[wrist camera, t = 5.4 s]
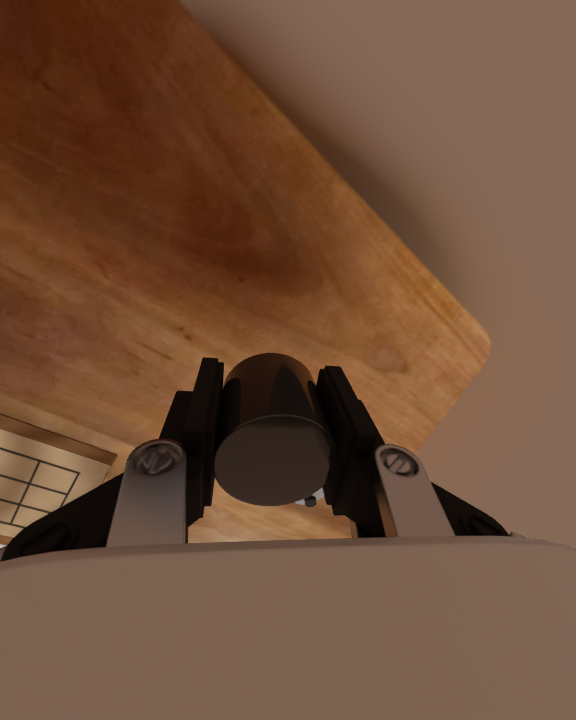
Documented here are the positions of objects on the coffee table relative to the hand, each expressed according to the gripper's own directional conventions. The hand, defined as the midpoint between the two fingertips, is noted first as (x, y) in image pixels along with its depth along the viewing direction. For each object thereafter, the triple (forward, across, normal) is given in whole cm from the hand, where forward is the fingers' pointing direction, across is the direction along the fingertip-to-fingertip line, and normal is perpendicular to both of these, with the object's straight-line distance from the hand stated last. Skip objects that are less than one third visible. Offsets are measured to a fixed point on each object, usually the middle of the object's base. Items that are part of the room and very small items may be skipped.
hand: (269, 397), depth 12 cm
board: (+15, +23, +22) cm, 35 cm away
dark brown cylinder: (0, 0, 0) cm, 0 cm away
